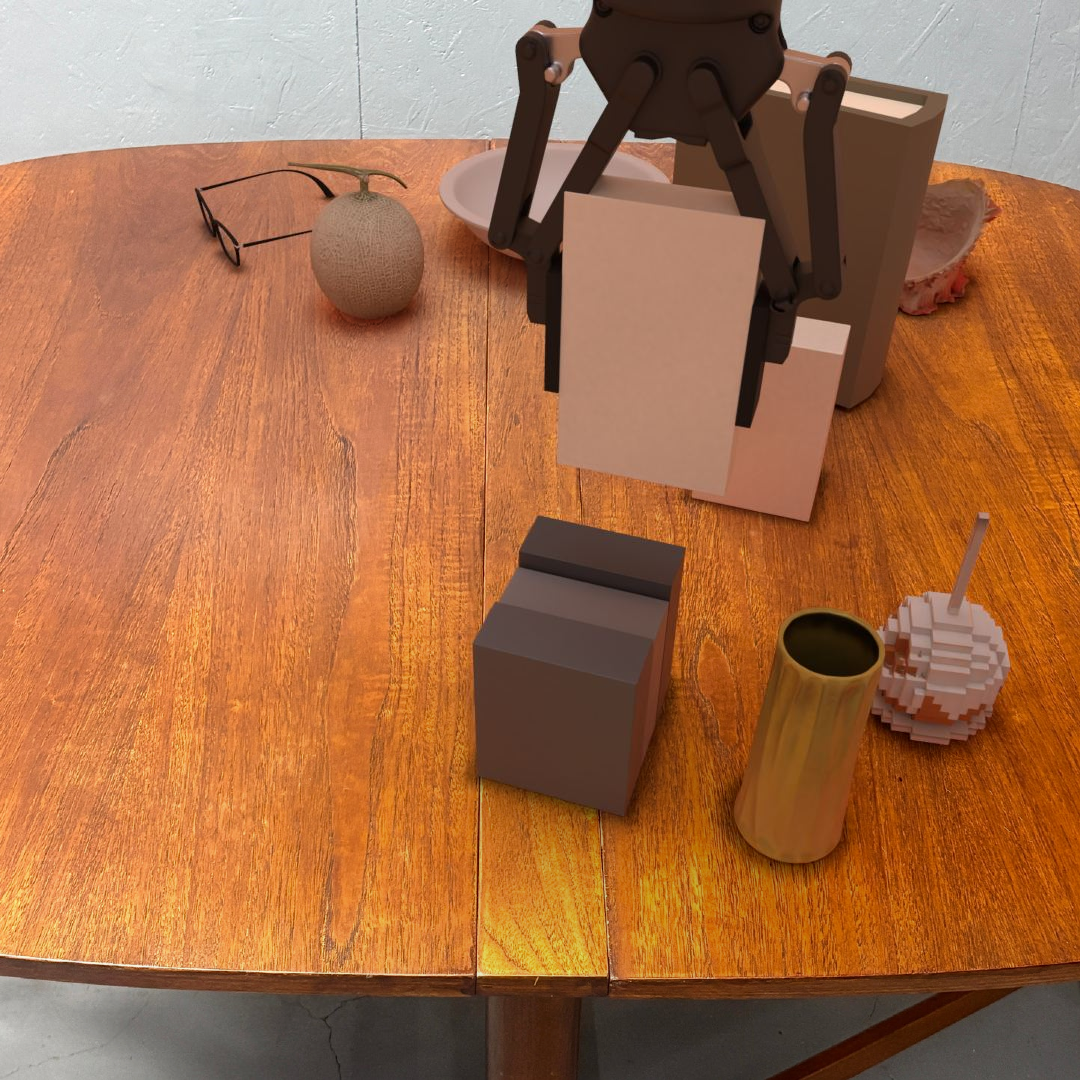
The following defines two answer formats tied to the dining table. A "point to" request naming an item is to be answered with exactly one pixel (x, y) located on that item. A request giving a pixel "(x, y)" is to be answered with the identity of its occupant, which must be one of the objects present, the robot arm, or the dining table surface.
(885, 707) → the pale rounded piece
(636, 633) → the grey books
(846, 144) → the book
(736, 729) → the dining table surface
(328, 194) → the eyeglasses
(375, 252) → the fruit
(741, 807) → the vase
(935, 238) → the seashell
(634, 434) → the white book
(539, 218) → the soup bowl
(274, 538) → the dining table surface
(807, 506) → the white books
